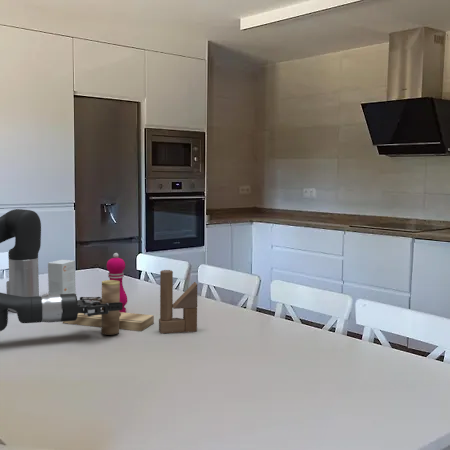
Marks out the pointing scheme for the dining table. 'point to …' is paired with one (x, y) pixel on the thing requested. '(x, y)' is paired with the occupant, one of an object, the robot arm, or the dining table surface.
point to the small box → (61, 277)
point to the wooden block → (176, 306)
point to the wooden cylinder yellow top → (112, 318)
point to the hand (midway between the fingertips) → (119, 303)
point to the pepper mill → (117, 276)
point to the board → (125, 321)
